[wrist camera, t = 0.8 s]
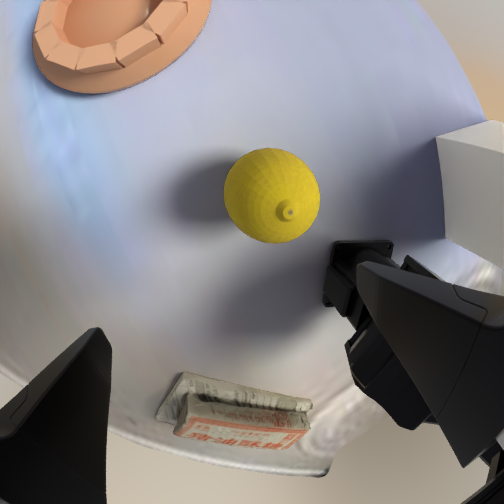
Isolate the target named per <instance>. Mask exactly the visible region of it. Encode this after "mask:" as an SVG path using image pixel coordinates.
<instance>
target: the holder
mask: <svg viewBox="0 0 504 504" xmlns="http://www.w3.org/2000/svg"><path fill="white" fill-rule="evenodd" d="M210 6H211V0H44V1H43V2H41V6H40V10H39V13H38V17H37V21H36V24H35V28H34V33H33V53H34V58H35V61H36V64H37V66H38V67H39V69H40V71H41V72H42V74H43V75H44V76H45V77H46V78H47V79H48V80H49V81H51V82H52V83H53V84H55V85H57V86H59V87H61V88H64V89H67V90H70V91H74V92H79V93H85V94H101V93H110V92H115V91H120V90H123V89H126V88H129V87H132V86H134V85H137V84H139V83H142V82H144V81H146V80H148V79H150V78H151V77H153V76H155V75H157V74H158V73H160V72H161V71H163V70H164V69H166V68H167V67H169V66H170V65H171V64H172V63H174V62H175V61H176V60H177V59H178V58H180V57H181V56H182V55H183V54H184V53H185V52H186V51H187V50H188V48H189V47H190V46H191V45H192V44H193V43H194V41H195V40H196V38H197V37H198V36H199V34H200V33H201V31H202V29H203V27H204V25H205V23H206V21H207V18H208V15H209V12H210Z"/></svg>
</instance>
